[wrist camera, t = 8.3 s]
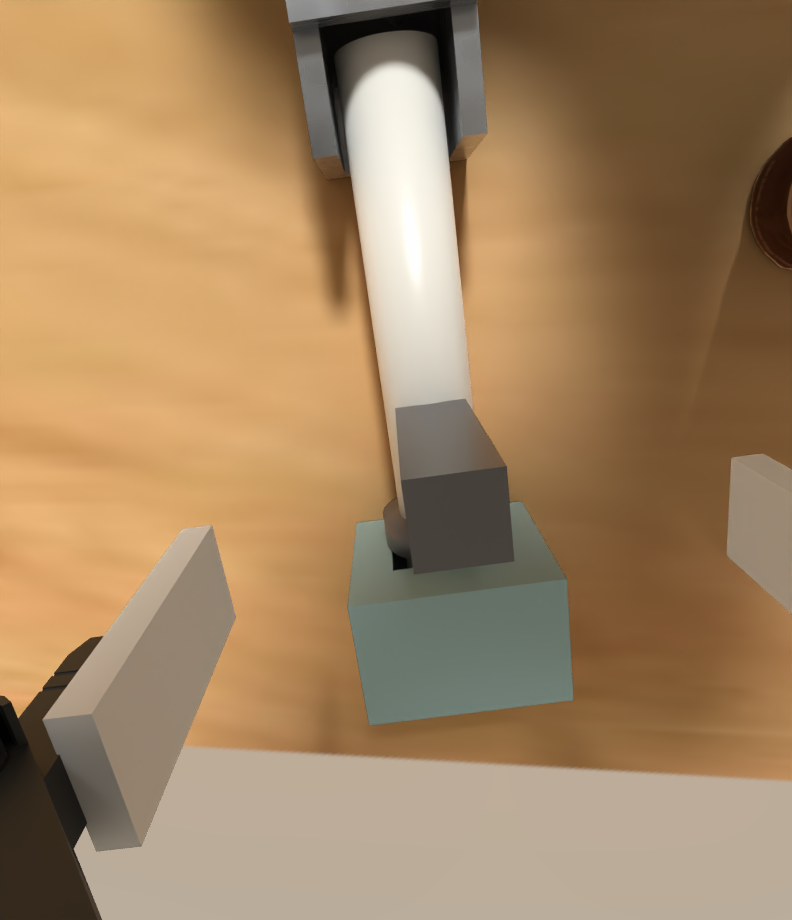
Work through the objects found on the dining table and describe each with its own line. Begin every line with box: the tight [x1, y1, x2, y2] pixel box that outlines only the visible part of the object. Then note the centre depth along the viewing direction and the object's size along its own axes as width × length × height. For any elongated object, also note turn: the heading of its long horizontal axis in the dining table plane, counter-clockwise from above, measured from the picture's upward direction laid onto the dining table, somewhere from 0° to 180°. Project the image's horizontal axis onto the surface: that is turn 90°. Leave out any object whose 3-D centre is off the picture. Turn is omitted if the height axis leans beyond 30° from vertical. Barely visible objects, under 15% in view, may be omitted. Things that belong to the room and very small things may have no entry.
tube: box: [334, 31, 514, 575], centre depth 23 cm, size 25×6×14 cm, turn 8°
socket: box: [348, 501, 573, 726], centre depth 30 cm, size 6×9×8 cm, turn 98°
